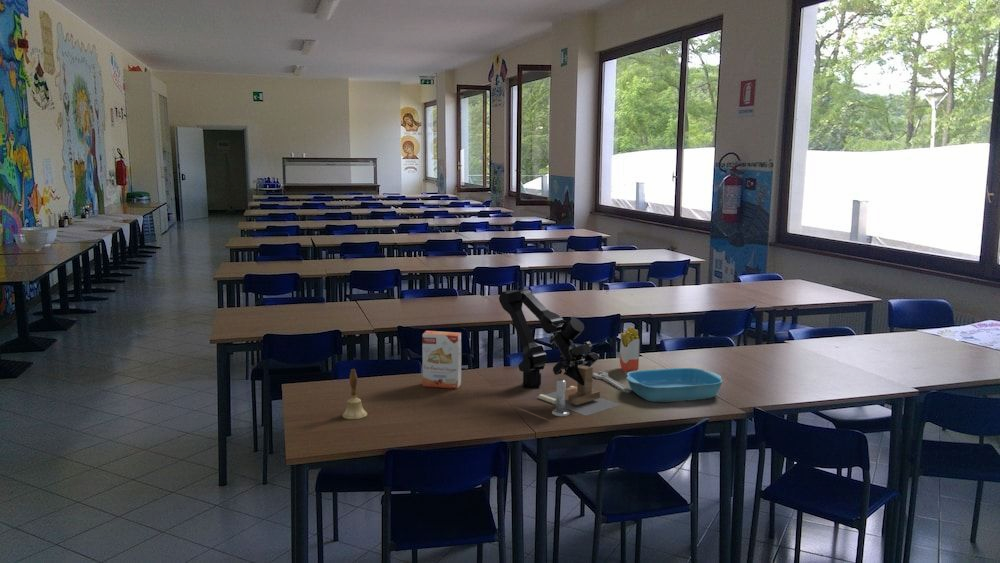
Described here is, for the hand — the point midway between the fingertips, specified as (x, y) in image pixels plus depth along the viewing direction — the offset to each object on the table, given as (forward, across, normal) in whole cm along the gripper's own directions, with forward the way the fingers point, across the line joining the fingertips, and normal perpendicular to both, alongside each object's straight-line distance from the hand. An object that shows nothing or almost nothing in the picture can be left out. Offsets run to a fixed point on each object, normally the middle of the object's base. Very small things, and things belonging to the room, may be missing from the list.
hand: (587, 383), depth 256 cm
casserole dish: (+14, +34, -2) cm, 37 cm away
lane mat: (+2, 0, +9) cm, 9 cm away
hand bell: (-24, -69, +36) cm, 81 cm away
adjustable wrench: (-2, +26, +14) cm, 30 cm away
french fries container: (-7, +45, +19) cm, 49 cm away
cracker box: (-29, -27, +42) cm, 58 cm away
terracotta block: (+1, 0, +9) cm, 9 cm away
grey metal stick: (+6, -14, +5) cm, 16 cm away
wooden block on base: (+4, 0, +6) cm, 7 cm away
